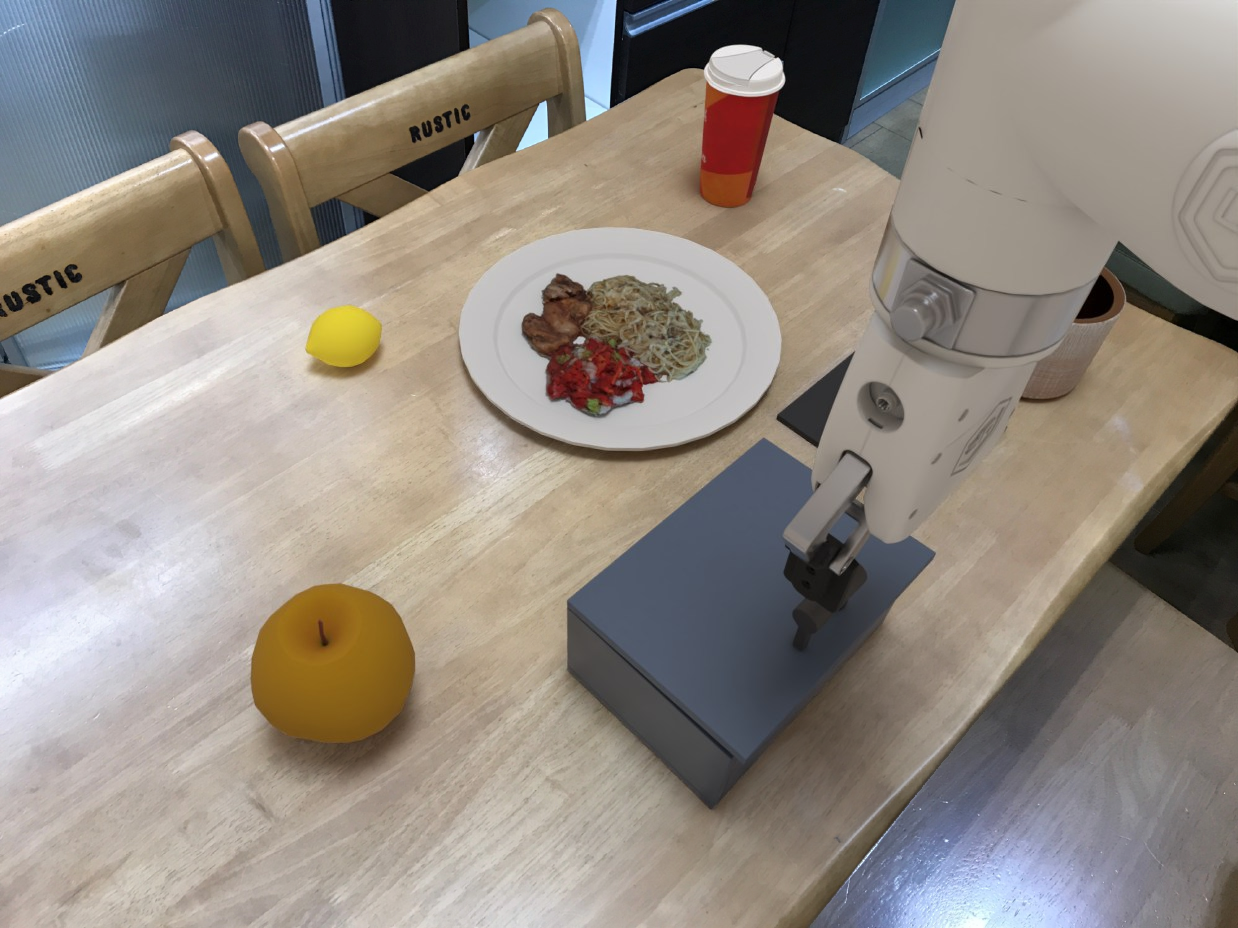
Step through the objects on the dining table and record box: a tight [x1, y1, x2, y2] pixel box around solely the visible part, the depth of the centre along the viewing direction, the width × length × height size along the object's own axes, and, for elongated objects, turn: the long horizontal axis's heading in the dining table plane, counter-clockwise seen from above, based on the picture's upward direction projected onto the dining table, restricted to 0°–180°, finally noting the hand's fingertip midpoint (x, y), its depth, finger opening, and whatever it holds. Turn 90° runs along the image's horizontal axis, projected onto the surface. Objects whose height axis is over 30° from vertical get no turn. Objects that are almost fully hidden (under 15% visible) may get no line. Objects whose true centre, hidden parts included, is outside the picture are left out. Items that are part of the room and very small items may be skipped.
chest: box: [566, 602, 895, 810], centre depth 61 cm, size 14×20×9 cm
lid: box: [566, 436, 937, 764], centre depth 55 cm, size 14×20×5 cm
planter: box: [1020, 266, 1127, 400], centre depth 81 cm, size 11×11×10 cm
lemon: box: [304, 304, 383, 368], centre depth 79 cm, size 7×5×5 cm
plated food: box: [458, 226, 782, 452], centre depth 83 cm, size 30×30×3 cm
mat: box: [775, 350, 1008, 448], centre depth 78 cm, size 15×14×1 cm
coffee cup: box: [699, 44, 786, 208], centre depth 94 cm, size 8×8×15 cm
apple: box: [250, 582, 416, 744], centre depth 56 cm, size 10×10×12 cm
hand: (867, 535), depth 46 cm, fingers open, 9 cm apart
